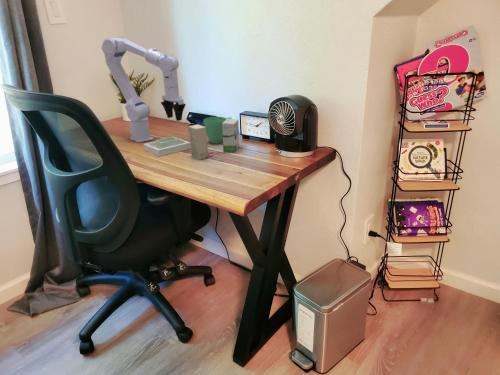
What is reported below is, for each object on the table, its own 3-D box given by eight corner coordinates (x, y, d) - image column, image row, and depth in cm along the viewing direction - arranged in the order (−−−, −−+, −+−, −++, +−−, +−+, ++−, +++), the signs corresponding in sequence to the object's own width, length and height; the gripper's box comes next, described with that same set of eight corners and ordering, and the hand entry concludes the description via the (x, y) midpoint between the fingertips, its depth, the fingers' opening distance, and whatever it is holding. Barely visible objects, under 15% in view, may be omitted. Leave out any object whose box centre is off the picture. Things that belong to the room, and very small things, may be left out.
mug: (214, 146, 164) (212, 123, 160) (200, 142, 171) (198, 119, 167) (240, 139, 174) (239, 117, 170) (226, 135, 180) (225, 113, 176)
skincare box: (208, 157, 152) (206, 126, 147) (198, 160, 149) (196, 129, 144) (200, 153, 156) (198, 123, 151) (190, 156, 154) (188, 125, 149)
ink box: (234, 152, 156) (233, 123, 152) (223, 152, 157) (221, 123, 153) (239, 146, 164) (238, 118, 160) (228, 145, 165) (227, 118, 161)
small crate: (156, 148, 162) (155, 140, 161) (173, 144, 167) (172, 136, 166) (162, 151, 159) (161, 142, 157) (179, 147, 163) (178, 139, 162)
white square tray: (144, 149, 163) (143, 143, 162) (175, 142, 172) (175, 136, 171) (158, 156, 154) (157, 150, 153) (191, 148, 163) (190, 142, 162)
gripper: (188, 87, 160) (191, 120, 165) (171, 83, 170) (174, 114, 176) (173, 89, 156) (176, 123, 161) (156, 85, 166) (160, 117, 172)
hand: (174, 119), depth 168 cm, fingers open, 7 cm apart
